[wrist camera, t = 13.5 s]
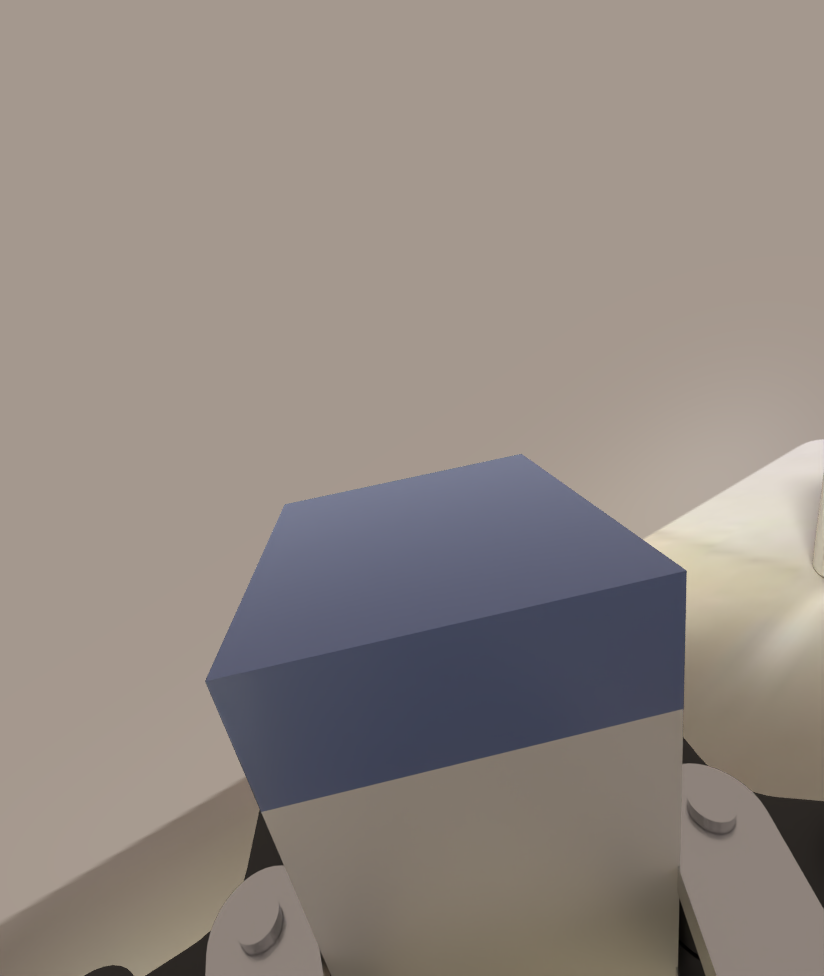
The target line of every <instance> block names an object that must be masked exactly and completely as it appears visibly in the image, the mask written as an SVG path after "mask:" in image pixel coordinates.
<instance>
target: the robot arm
mask: <svg viewBox="0 0 824 976" xmlns="http://www.w3.org/2000/svg"><path fill="white" fill-rule="evenodd" d="M677 892H678V895H679V939H678V967H676V976H824V801H813V800H802V799H791V798H779V797H772V796H766V795H762V794H758V793H755V792H752V791H751V790H750V789H749V788H748V787H746V786H745V785H744V784H743V783H741V782H740V781H739V780H737V779H736V778H734V777H732V776H731V775H729V774H727V773H725V772H723V771H721V770H718V769H716V768H713V767H710V766H708V765H706V764H705V763H704V761H703V760H702V759H701V758H700V757H699V756H698V755H697V754H696V752H695V751H694V750H693V749H692V747H691V746H690V745H689V744H688V742H687V741H686V740H685V739H684V738H683V756H682V802H681V848H680V866H678V877H677ZM85 976H134V975H133V974H132V973H131V972H130V971H129V970H128V969H127V968H124V967H122V966H115V965H111V966H106V967H102V968H99V969H96V970H94V971H92V972H90V973H88V974H86V975H85ZM146 976H331V974H330V972H329V969H328V967H327V965H326V962H325V960H324V958H323V955H322V953H321V951H320V948H319V946H318V944H317V941H316V939H315V937H314V934H313V932H312V930H311V927H310V925H309V923H308V920H307V918H306V916H305V913H304V911H303V909H302V906H301V904H300V902H299V899H298V897H297V895H296V892H295V890H294V888H293V885H292V883H291V881H290V878H289V876H288V874H287V871H286V869H285V867H284V864H283V862H282V860H281V857H280V855H279V853H278V850H277V848H276V846H275V843H274V841H273V839H272V836H271V834H270V832H269V829H268V827H267V825H266V822H265V820H264V818H263V815H262V813H261V811H259V816H258V820H257V825H256V830H255V835H254V839H253V844H252V849H251V854H250V858H249V863H248V868H247V872H246V875H245V879H244V881H243V882H242V883H241V884H240V885H239V886H238V887H237V888H236V889H235V890H234V891H233V893H232V894H231V895H230V896H229V898H228V899H227V900H226V902H225V903H224V905H223V906H222V908H221V910H220V911H219V913H218V915H217V917H216V919H215V921H214V924H213V927H212V929H211V931H210V932H209V933H207V934H206V935H205V936H204V937H203V938H202V939H201V940H199V941H198V942H197V943H195V944H194V945H192V946H191V947H189V948H188V949H186V950H185V951H183V952H182V953H180V954H179V955H177V956H175V957H174V958H172V959H171V960H169V961H168V962H166V963H164V964H163V965H161V966H160V967H158V968H157V969H155V970H154V971H152V972H150V973H149V974H147V975H146Z"/></svg>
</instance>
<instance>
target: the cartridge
mask: <svg viewBox="0 0 824 976" xmlns="http://www.w3.org/2000/svg"><path fill="white" fill-rule="evenodd" d="M686 573H687V571H686V570H685V569H683V568H682V567H681V566H679V565H678V564H676V563H675V562H674V561H672V560H671V559H669V558H668V557H666V556H665V555H664V554H662V553H661V552H659V551H658V550H657V549H655V548H654V547H652V546H651V545H649V544H648V543H647V542H645V541H644V540H642V539H641V538H640V537H638V536H637V535H635V534H634V533H633V532H631V531H630V530H628V529H627V528H625V527H624V526H623V525H621V524H620V523H618V522H617V521H616V520H614V519H613V518H611V517H610V516H608V515H607V514H606V513H604V512H603V511H601V510H600V509H599V508H597V507H596V506H594V505H593V504H591V503H590V502H589V501H587V500H586V499H584V498H583V497H582V496H580V495H579V494H577V493H576V492H575V491H573V490H572V489H570V488H569V487H567V486H566V485H565V484H563V483H562V482H560V481H559V480H557V479H556V478H555V477H553V476H552V475H550V474H549V473H548V472H546V471H545V470H543V469H542V468H541V467H539V466H538V465H536V464H535V463H534V462H532V461H531V460H529V459H528V458H526V457H525V456H523V455H522V454H519V455H514V456H510V457H505V458H500V459H496V460H491V461H486V462H482V463H477V464H473V465H468V466H463V467H458V468H453V469H449V470H444V471H439V472H435V473H430V474H426V475H421V476H416V477H411V478H407V479H402V480H397V481H393V482H388V483H384V484H379V485H374V486H369V487H365V488H360V489H355V490H351V491H346V492H341V493H337V494H332V495H327V496H322V497H318V498H314V499H309V500H304V501H299V502H294V503H289V504H285V505H284V507H283V509H282V512H281V514H280V516H279V519H278V521H277V523H276V525H275V527H274V529H273V532H272V534H271V536H270V538H269V541H268V543H267V545H266V547H265V549H264V552H263V554H262V556H261V558H260V561H259V563H258V565H257V567H256V570H255V572H254V574H253V576H252V578H251V581H250V583H249V585H248V587H247V590H246V592H245V594H244V596H243V598H242V601H241V603H240V605H239V607H238V609H237V612H236V614H235V616H234V618H233V621H232V623H231V625H230V627H229V630H228V632H227V634H226V636H225V638H224V641H223V643H222V645H221V647H220V649H219V652H218V654H217V656H216V658H215V661H214V663H213V665H212V667H211V669H210V672H209V674H208V676H207V678H206V681H205V682H206V684H207V687H208V689H209V691H210V694H211V696H212V698H213V701H214V703H215V705H216V708H217V710H218V712H219V715H220V717H221V719H222V722H223V724H224V726H225V729H226V731H227V733H228V736H229V738H230V740H231V742H232V745H233V747H234V750H235V752H236V754H237V757H238V759H239V761H240V764H241V766H242V768H243V771H244V773H245V776H246V778H247V780H248V783H249V785H250V787H251V790H252V792H253V794H254V797H255V799H256V801H257V804H258V806H259V808H260V811H261V813H262V815H263V818H264V820H265V822H266V825H267V827H268V829H269V832H270V834H271V836H272V839H273V841H274V843H275V846H276V848H277V850H278V853H279V855H280V857H281V860H282V862H283V864H284V867H285V869H286V871H287V874H288V876H289V878H290V881H291V883H292V885H293V888H294V890H295V892H296V895H297V897H298V899H299V902H300V904H301V906H302V909H303V911H304V913H305V916H306V918H307V920H308V923H309V925H310V927H311V930H312V932H313V934H314V937H315V939H316V941H317V944H318V946H319V948H320V951H321V953H322V955H323V958H324V960H325V962H326V965H327V967H328V969H329V972H330V974H331V976H676V967H678V939H679V895H678V892H677V877H678V866H680V848H681V802H682V756H683V710H684V665H685V619H686Z"/></svg>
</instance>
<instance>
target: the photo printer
mask: <svg viewBox="0 0 824 976" xmlns="http://www.w3.org/2000/svg"><path fill="white" fill-rule="evenodd" d="M812 563H813V567H814V569H815V570H816V572H817V573H818V574H820V575H821V576H822V577H824V475H823V482H822V491H821V498H820V506H819V514H818V522H817V530H816V538H815V546H814V554H813V562H812Z"/></svg>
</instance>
